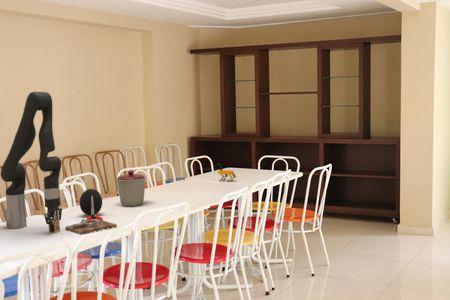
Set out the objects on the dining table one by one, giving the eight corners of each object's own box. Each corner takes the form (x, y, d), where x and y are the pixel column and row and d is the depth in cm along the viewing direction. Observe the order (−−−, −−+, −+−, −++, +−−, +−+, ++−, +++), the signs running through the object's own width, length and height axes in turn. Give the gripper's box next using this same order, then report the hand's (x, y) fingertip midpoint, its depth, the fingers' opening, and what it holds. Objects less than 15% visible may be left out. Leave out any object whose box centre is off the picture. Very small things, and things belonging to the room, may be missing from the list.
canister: (141, 208, 349) (139, 172, 347) (112, 207, 352) (110, 172, 350) (151, 202, 366) (149, 168, 364) (123, 201, 370) (122, 168, 368)
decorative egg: (76, 215, 333) (74, 189, 332) (96, 212, 341) (95, 186, 339) (86, 218, 324) (85, 191, 322) (107, 215, 332) (105, 188, 330)
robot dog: (216, 179, 447) (215, 162, 445) (236, 181, 437) (235, 163, 435) (212, 181, 442) (211, 163, 441) (232, 182, 432) (231, 164, 431)
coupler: (56, 232, 294) (55, 220, 293) (48, 232, 295) (48, 220, 294) (60, 230, 298) (59, 219, 297) (52, 230, 299) (52, 218, 298)
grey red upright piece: (104, 221, 318) (100, 217, 326) (103, 198, 316) (99, 194, 324) (88, 223, 314) (85, 219, 323) (87, 199, 312) (83, 196, 321)
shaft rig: (81, 234, 288) (80, 227, 288) (65, 229, 300) (65, 222, 300) (116, 227, 302) (116, 220, 301) (100, 222, 314) (100, 215, 313)
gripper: (52, 194, 302) (54, 227, 304) (37, 199, 288) (40, 234, 290) (66, 194, 301) (68, 227, 302) (51, 199, 287) (54, 234, 289)
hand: (54, 230), depth 296 cm, fingers closed on coupler, 4 cm apart
